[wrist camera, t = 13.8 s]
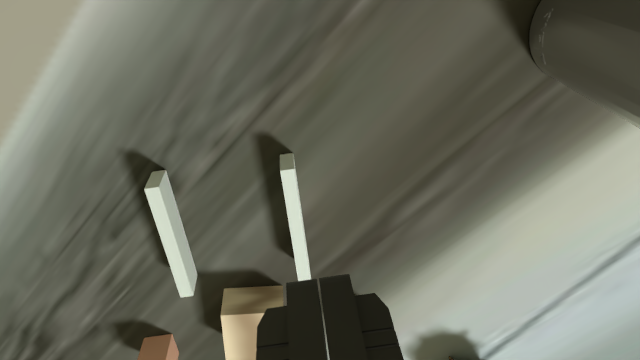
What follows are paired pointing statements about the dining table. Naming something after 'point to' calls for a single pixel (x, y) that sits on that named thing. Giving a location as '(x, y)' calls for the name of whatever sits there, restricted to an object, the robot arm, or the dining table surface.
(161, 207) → the white blocks
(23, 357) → the dining table surface
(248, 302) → the maple block
